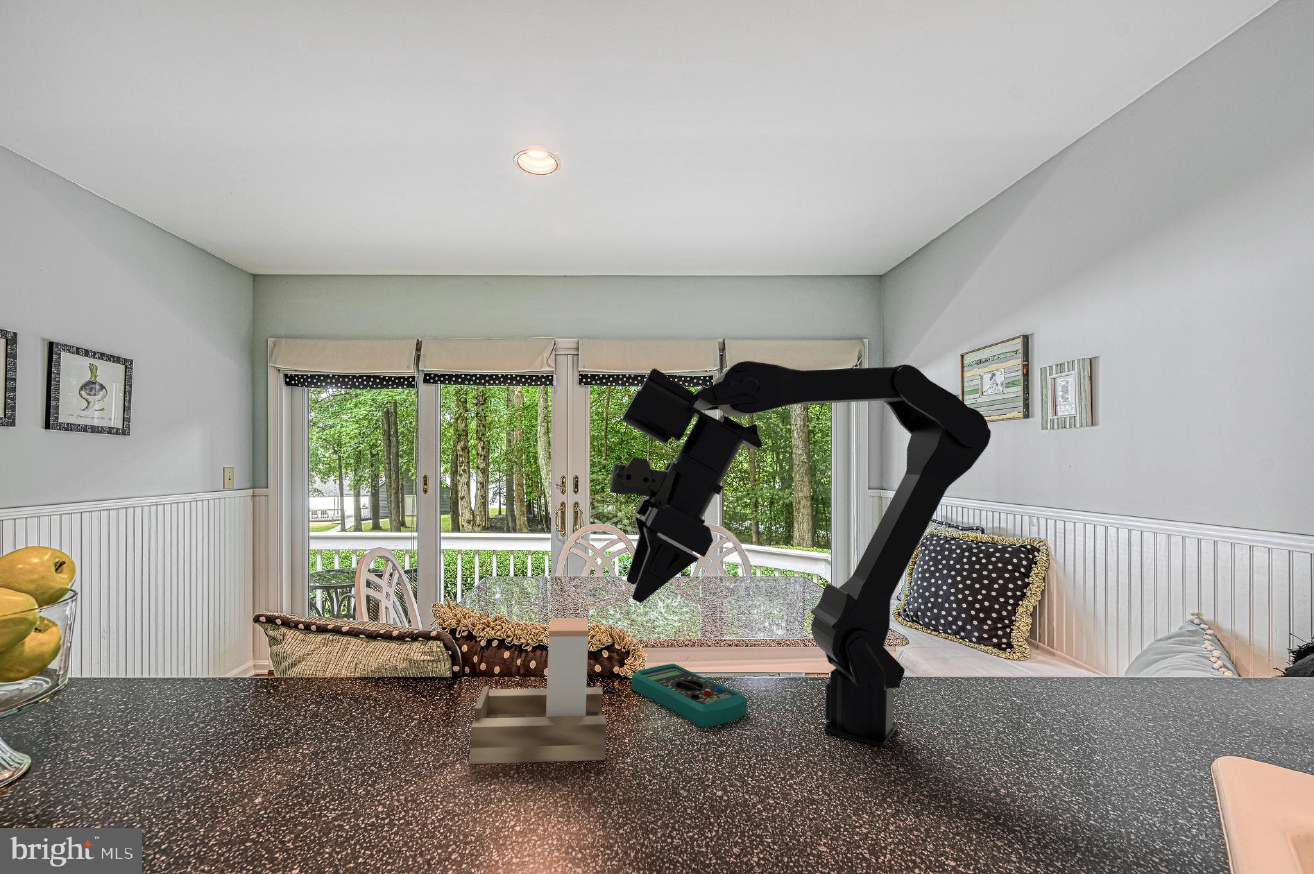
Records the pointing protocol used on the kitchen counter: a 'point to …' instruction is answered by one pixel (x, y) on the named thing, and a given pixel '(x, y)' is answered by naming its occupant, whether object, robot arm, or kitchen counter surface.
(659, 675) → the digital multimeter
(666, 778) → the kitchen counter surface
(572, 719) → the open taupe tray
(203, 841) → the kitchen counter surface
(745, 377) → the robot arm
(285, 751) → the kitchen counter surface
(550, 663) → the switch tab
